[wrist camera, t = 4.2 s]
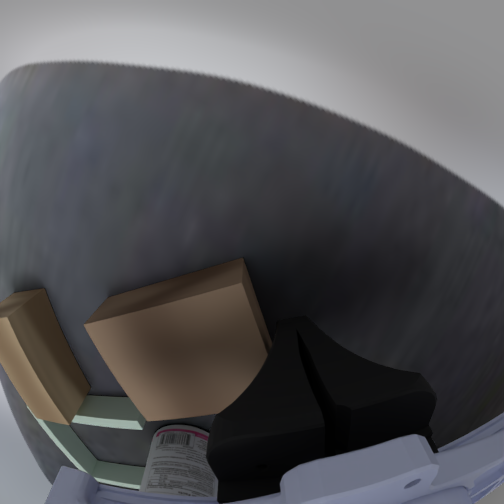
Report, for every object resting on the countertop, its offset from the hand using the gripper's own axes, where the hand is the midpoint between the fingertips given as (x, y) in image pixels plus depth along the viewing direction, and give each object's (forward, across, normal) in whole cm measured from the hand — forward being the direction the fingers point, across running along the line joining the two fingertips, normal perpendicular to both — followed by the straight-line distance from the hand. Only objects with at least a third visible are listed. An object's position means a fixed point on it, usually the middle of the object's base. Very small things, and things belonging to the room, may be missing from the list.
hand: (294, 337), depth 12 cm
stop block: (+1, +14, 0) cm, 14 cm away
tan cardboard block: (+2, +5, 0) cm, 5 cm away
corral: (+1, +14, +9) cm, 16 cm away
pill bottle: (+2, +8, +9) cm, 12 cm away
